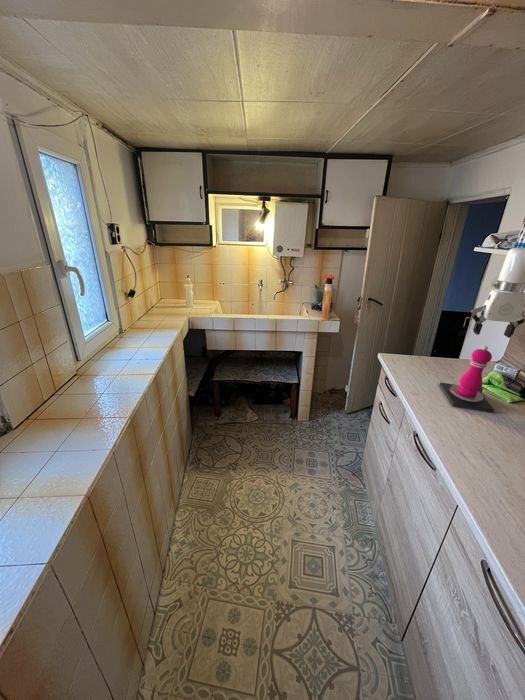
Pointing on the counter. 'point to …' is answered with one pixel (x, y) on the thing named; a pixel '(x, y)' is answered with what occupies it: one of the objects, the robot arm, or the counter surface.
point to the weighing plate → (476, 398)
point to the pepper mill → (475, 372)
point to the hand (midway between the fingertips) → (491, 334)
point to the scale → (459, 402)
